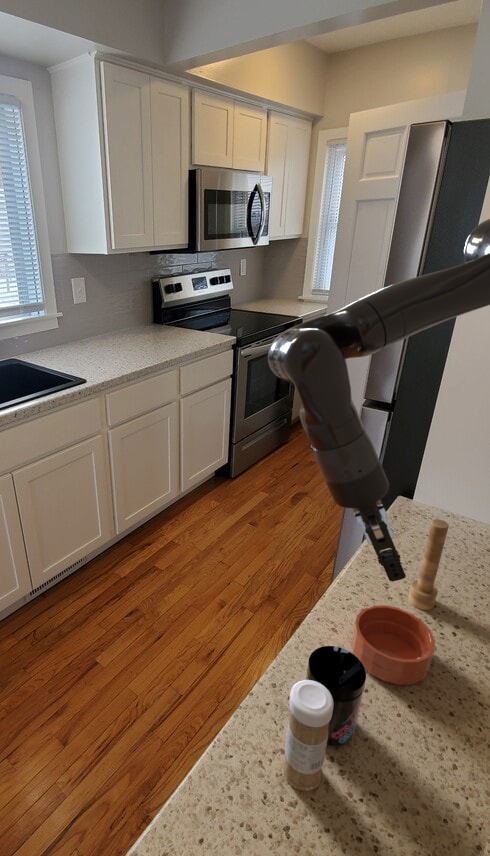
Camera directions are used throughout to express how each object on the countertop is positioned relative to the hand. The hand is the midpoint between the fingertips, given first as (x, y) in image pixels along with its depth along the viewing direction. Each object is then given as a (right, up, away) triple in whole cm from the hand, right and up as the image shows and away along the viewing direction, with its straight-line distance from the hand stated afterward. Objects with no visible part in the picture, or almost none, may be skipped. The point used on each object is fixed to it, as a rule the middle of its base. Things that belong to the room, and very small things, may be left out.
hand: (389, 559), depth 70 cm
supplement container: (-11, -20, -6) cm, 24 cm away
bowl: (+1, -15, +3) cm, 16 cm away
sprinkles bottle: (-16, -23, -11) cm, 30 cm away
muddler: (+11, -11, +13) cm, 20 cm away
